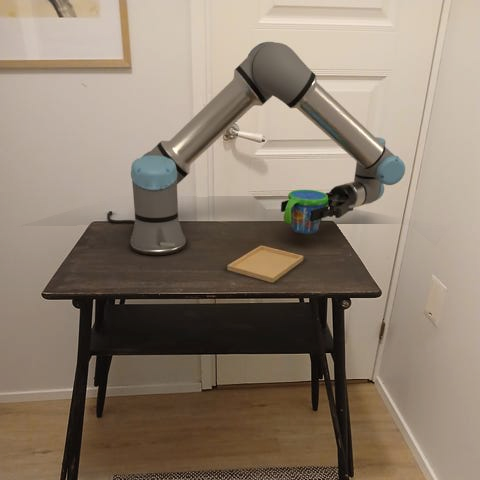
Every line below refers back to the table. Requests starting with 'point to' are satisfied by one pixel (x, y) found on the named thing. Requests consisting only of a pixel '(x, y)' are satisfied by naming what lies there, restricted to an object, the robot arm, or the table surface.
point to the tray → (265, 263)
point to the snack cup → (304, 210)
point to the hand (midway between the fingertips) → (296, 211)
